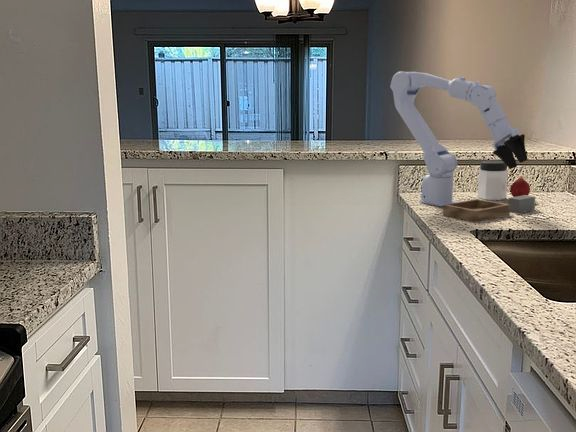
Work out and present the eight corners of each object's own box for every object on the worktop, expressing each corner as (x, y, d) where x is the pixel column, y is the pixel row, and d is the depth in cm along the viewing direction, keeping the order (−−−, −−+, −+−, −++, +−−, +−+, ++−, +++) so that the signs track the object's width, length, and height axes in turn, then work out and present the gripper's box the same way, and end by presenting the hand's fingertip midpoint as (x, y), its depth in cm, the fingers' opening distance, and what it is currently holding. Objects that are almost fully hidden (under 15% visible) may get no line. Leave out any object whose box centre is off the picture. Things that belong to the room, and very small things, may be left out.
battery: (508, 211, 171) (508, 197, 171) (523, 208, 175) (524, 194, 175) (518, 213, 169) (519, 199, 168) (534, 209, 173) (535, 196, 172)
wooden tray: (443, 215, 168) (443, 204, 167) (476, 208, 176) (476, 198, 175) (475, 222, 158) (476, 211, 158) (509, 215, 166) (510, 204, 166)
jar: (497, 201, 186) (499, 164, 183) (473, 198, 192) (475, 162, 189) (510, 197, 192) (512, 161, 190) (486, 194, 198) (488, 159, 195)
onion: (530, 203, 182) (532, 177, 181) (511, 202, 183) (513, 177, 182) (527, 199, 188) (529, 175, 186) (508, 199, 189) (509, 175, 187)
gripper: (519, 108, 162) (542, 152, 160) (500, 125, 176) (521, 165, 174) (496, 118, 161) (519, 162, 159) (479, 134, 175) (500, 174, 174)
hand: (518, 164), depth 167 cm, fingers open, 7 cm apart
